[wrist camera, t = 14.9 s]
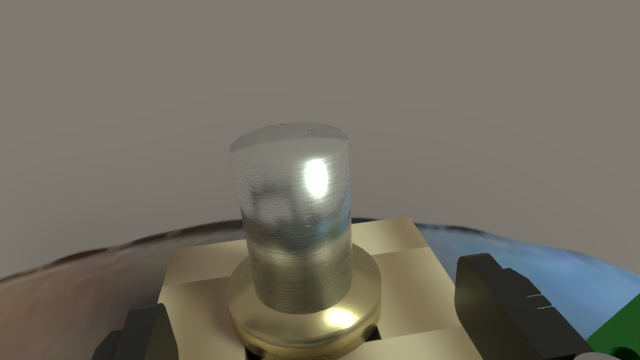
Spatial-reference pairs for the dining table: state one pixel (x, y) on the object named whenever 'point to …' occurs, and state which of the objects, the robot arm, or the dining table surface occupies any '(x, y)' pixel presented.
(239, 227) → the dining table surface
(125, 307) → the dining table surface
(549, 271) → the dining table surface
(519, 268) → the dining table surface
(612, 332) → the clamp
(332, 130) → the pin
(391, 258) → the block
